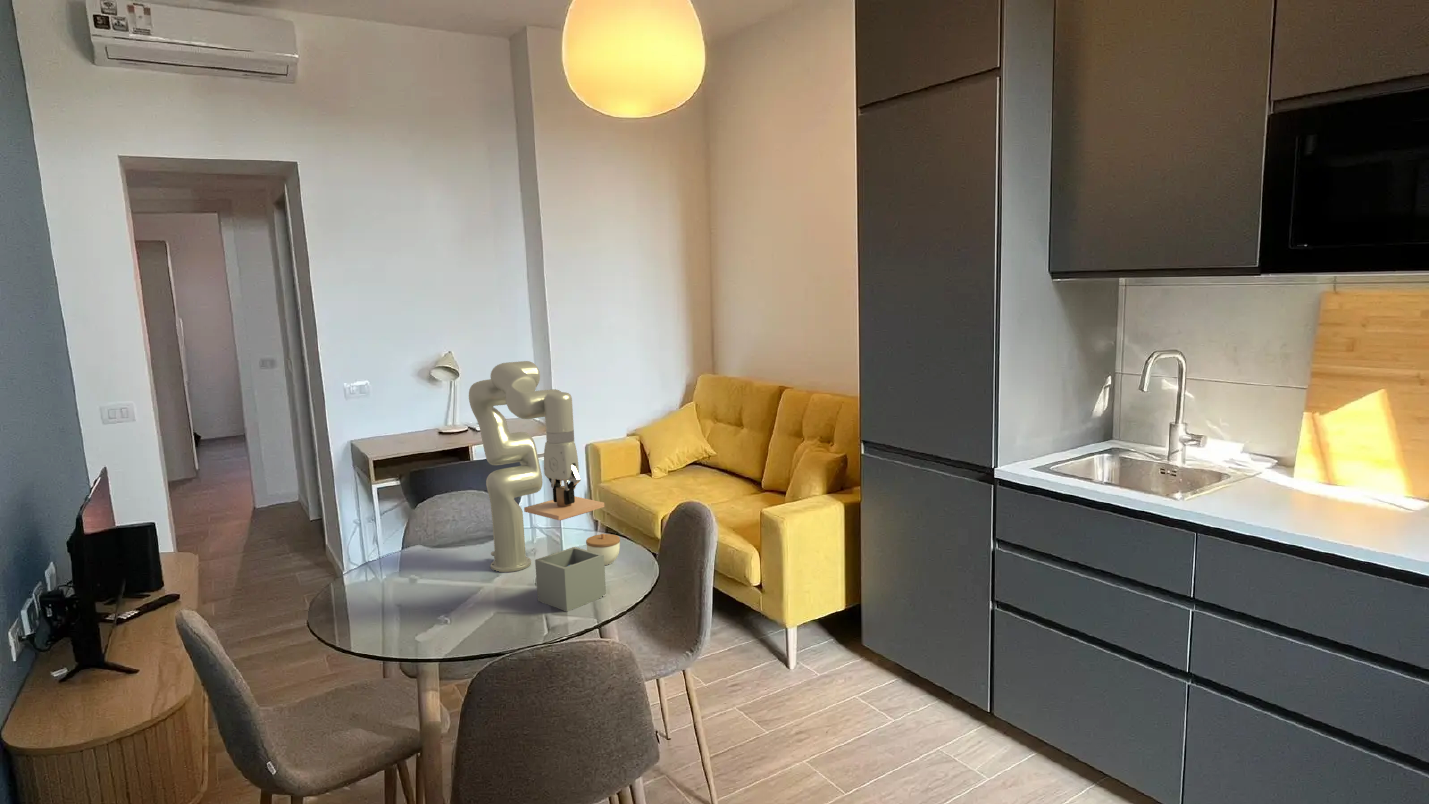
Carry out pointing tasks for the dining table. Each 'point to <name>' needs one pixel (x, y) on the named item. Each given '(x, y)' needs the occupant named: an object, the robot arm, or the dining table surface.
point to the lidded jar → (604, 546)
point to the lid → (563, 507)
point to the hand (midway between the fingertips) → (564, 501)
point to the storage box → (570, 578)
